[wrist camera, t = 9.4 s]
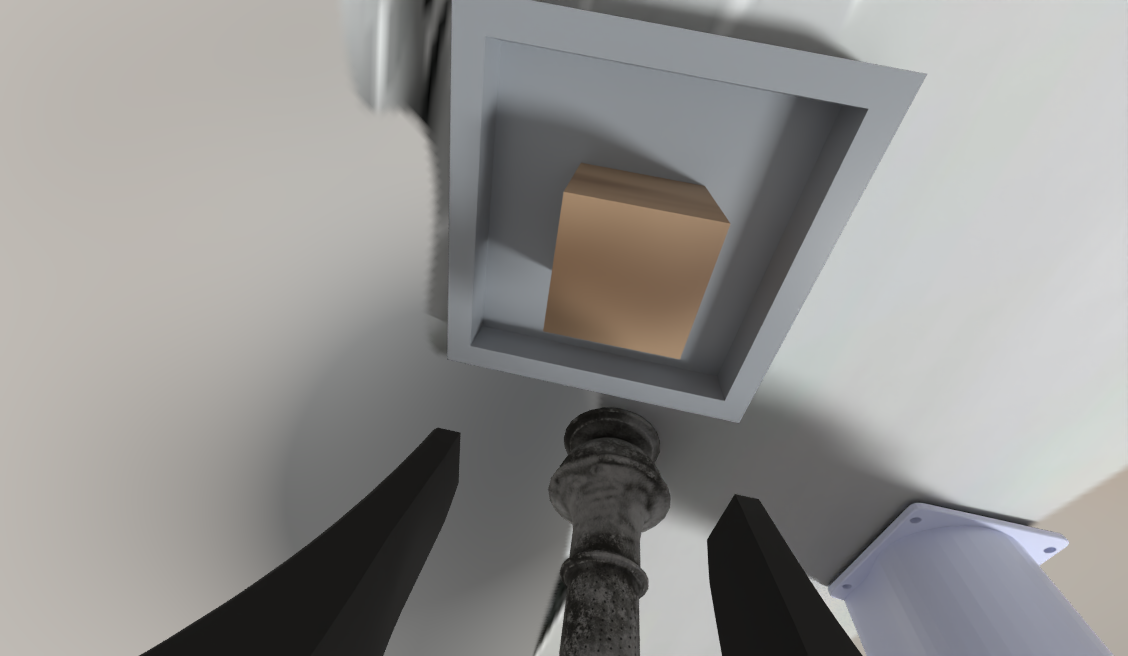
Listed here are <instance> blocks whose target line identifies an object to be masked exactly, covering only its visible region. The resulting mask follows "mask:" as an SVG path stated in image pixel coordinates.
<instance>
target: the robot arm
mask: <svg viewBox="0 0 1128 656" xmlns="http://www.w3.org/2000/svg"><path fill="white" fill-rule="evenodd" d="M459 454H460V433H459V432H455V431H450V430H446V429H441V428H436V429H434V430H433V431H432V432H431V433H430V434H429V435H428V437H427V438H426V439H425V440H424V441H423V442H422V443H421V444H420V445H419V447H417V448H416V449H415V450H414V451H413V452H412V453H411V454H410V455H409V456H408V457H407V458H406V460H404V461H403V462H402V463H401V464H400V465H399V466H398V468H396V469H395V470H394V471H393V472H392V473H391V474H390V475H389V476H388V477H387V478H386V479H385V480H383V481H382V482H381V483H380V484H379V485H378V486H377V487H376V488H375V489H374V490H373V491H372V492H371V493H370V494H368V495H367V496H366V497H365V498H364V499H363V500H361V501H360V502H359V503H358V504H357V505H356V506H354V507H353V508H352V509H351V510H350V511H349V512H347V513H346V514H345V515H344V516H343V517H342V518H341V519H339V520H338V521H337V522H336V523H335V524H333V525H332V526H331V527H330V528H328V529H327V530H326V531H325V532H323V533H322V534H321V535H320V536H318V537H317V538H316V539H314V540H313V541H312V542H311V543H310V544H308V545H307V546H305V547H304V548H303V549H301V550H300V551H299V552H298V553H296V554H295V555H293V556H292V557H291V558H289V559H288V560H287V561H285V562H284V563H283V564H281V565H280V566H278V567H277V568H276V569H274V570H272V571H271V572H270V573H268V574H267V575H265V576H264V577H263V578H261V579H260V580H258V581H257V582H255V583H254V584H253V585H251V586H250V587H248V588H247V589H245V590H244V591H242V592H241V593H239V594H238V595H237V596H235V597H233V598H232V599H230V600H229V601H227V602H226V603H224V604H223V605H221V606H219V607H218V608H216V609H215V610H213V611H211V612H210V613H208V614H207V615H205V616H203V617H202V618H200V619H199V620H197V621H195V622H194V623H192V624H191V625H189V626H187V627H186V628H185V629H183V630H181V631H180V632H178V633H176V634H175V635H173V636H171V637H170V638H169V639H167V640H165V641H163V642H162V643H160V644H158V645H157V646H155V647H153V648H152V649H150V650H148V651H147V652H145V653H143V654H141V655H140V656H383V655H384V652H385V650H386V647H387V645H388V642H389V639H390V637H391V634H392V632H393V629H394V627H395V625H396V623H397V620H398V618H399V616H400V613H401V611H402V609H403V607H404V605H405V603H406V601H407V599H408V597H409V594H410V593H411V590H412V588H413V586H414V584H415V582H416V580H417V578H418V576H419V574H420V572H421V570H422V568H423V565H424V564H425V561H426V559H427V557H428V555H429V553H430V551H431V549H432V547H433V544H434V543H435V541H436V539H437V536H438V534H439V532H440V530H441V528H442V526H443V524H444V522H445V519H446V516H447V513H448V511H449V508H450V505H451V503H452V500H453V497H454V494H455V491H456V488H457V486H458V482H459V456H460V455H459ZM1068 543H1069V541H1068V540H1067V539H1066V538H1065V537H1064V536H1063V535H1062V534H1060V533H1056V532H1052V531H1047V530H1043V529H1038V528H1033V527H1029V526H1025V525H1020V524H1016V523H1011V522H1007V521H1002V520H997V519H993V518H988V517H984V516H979V515H975V514H970V513H966V512H961V511H957V510H952V509H948V508H943V507H939V506H934V505H930V504H925V503H914V504H911V505H910V506H908V507H907V508H906V509H905V510H904V511H903V512H902V513H901V514H900V515H899V516H898V517H897V518H896V519H895V520H894V521H893V522H892V523H891V524H890V525H889V526H888V527H887V528H886V530H885V531H884V532H883V533H882V534H881V535H880V536H879V537H878V538H877V539H876V540H875V541H874V542H873V543H872V544H871V545H870V546H869V547H868V548H867V549H866V550H865V551H864V552H863V553H862V554H861V555H860V556H859V557H858V558H857V559H856V560H855V561H854V562H853V563H852V564H851V565H850V566H849V567H848V568H847V569H846V570H845V571H844V572H843V573H842V574H841V575H840V576H839V577H838V578H837V579H836V580H835V581H834V582H833V583H832V584H831V585H830V586H829V587H828V591H829V594H830V596H832V597H834V598H837V599H841V600H844V601H845V603H846V606H847V608H848V611H849V613H850V616H851V618H852V621H853V623H854V625H855V628H856V630H857V633H858V635H859V638H860V640H861V643H862V645H863V648H864V650H865V652H866V655H867V656H1114V655H1113V654H1112V652H1111V651H1110V650H1109V649H1108V648H1107V646H1106V645H1105V644H1104V643H1103V642H1102V640H1101V639H1100V638H1099V637H1098V636H1097V634H1095V632H1094V631H1093V630H1092V629H1091V627H1090V626H1089V625H1088V624H1087V622H1086V621H1085V620H1084V619H1083V618H1082V616H1081V615H1080V614H1079V613H1078V612H1077V610H1076V609H1075V608H1074V607H1073V606H1072V605H1071V603H1070V602H1069V601H1068V600H1067V599H1066V597H1065V596H1064V595H1063V594H1062V593H1061V591H1060V590H1059V589H1058V588H1057V587H1056V586H1055V584H1054V583H1053V582H1052V581H1051V579H1050V578H1049V577H1048V576H1047V575H1046V573H1045V572H1044V571H1043V570H1042V569H1041V567H1039V565H1041V564H1042V563H1044V562H1045V561H1046V560H1048V559H1049V558H1050V557H1052V556H1054V555H1055V554H1057V553H1058V552H1059V551H1061V550H1062V549H1064V548H1065V547H1067V546H1068ZM707 546H708V566H709V580H710V588H711V594H712V600H713V606H714V612H715V618H716V624H717V629H718V635H719V641H720V646H721V652H722V656H862V654H861V653H860V652H859V650H858V649H857V647H856V646H855V645H854V643H853V642H852V641H851V639H850V638H849V636H848V635H847V634H846V632H845V631H844V629H843V628H842V627H841V625H840V624H839V622H838V621H837V620H836V618H835V617H834V615H833V614H832V612H831V611H830V609H829V608H828V607H827V605H826V604H825V602H824V601H823V599H822V598H821V596H820V595H819V593H818V592H817V590H816V589H815V587H814V586H813V584H812V583H811V581H810V580H809V578H808V577H807V575H806V573H805V572H804V570H803V569H802V567H801V566H800V564H799V563H798V561H797V559H796V558H795V556H794V555H793V553H792V552H791V550H790V548H789V547H788V545H787V544H786V542H785V540H784V539H783V537H782V536H781V534H780V532H779V531H778V529H777V528H776V526H775V524H774V523H773V521H772V520H771V518H770V516H769V515H768V513H767V512H766V510H765V508H764V507H763V505H762V504H761V502H760V500H759V499H755V498H750V497H746V496H741V495H737V494H735V495H734V496H733V498H732V500H731V501H730V503H729V505H728V506H727V508H726V510H725V511H724V513H723V515H722V516H721V518H720V519H719V521H718V523H717V524H716V526H715V528H714V529H713V531H712V533H711V534H710V536H709V538H708V539H707Z"/></svg>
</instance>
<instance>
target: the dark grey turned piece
mask: <svg viewBox="0 0 1128 656" xmlns="http://www.w3.org/2000/svg"><path fill="white" fill-rule="evenodd" d="M564 444H565V449H566V451H567V453H568V456H567V457H566V459H565V460H564V461H563V463H562V464H561V465H560V468H558V469H557V471H556V472H555V473H554V475H553V477H552V478H551V481H550V485H549V489H548V490H549V497H550V501H551V503H552V505H553V506H554V508H555V510H556V511H557V512H558V513H559V514H560V515H561V516H562V517H563V518H564V519H565V520H566V521H568V522H569V523H571V524H572V525H573V534H572V542H571V549H570V557H569V558H568V559H567V560H566V561H565V562H564V563H563V564H562V566H561V570H560V576H561V580H562V581H563V583H564V585H565V586H566V587H567V596H566V604H565V612H564V620H563V628H562V636H561V644H560V652H559V656H640V636H639V599H640V598H641V597H642V596H643V595H645V593H646V592H647V590H648V578H647V575H646V573H645V572H644V571H643V570H642V569H641V568H640V537H641V532H645V531H647V530H649V529H651V528H653V527H654V526H656V525H657V524H658V523H659V522H660V521H661V520H662V519H664V518H665V516H666V514H667V512H668V510H669V508H670V493H669V490H668V487H667V485H666V483H665V482H664V481H663V480H662V478H661V476H660V473H659V471H658V469H657V467H656V466H655V464H654V462H655V461H656V458H657V456H658V454H659V448H660V441H659V438H658V435H657V432H656V431H655V430H654V428H653V427H652V425H651V424H650V423H649V422H647V421H646V420H645V419H643V418H642V417H641V416H639V415H637V414H634V413H632V412H630V411H626V410H622V409H618V408H600V409H594V410H590V411H588V412H585V413H583V414H580V415H579V416H578V417H576V418H575V419H574V420H572V421H571V423H570V424H569V426H568V427H567V429H566V433H565V436H564Z"/></svg>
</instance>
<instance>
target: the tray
mask: <svg viewBox="0 0 1128 656" xmlns="http://www.w3.org/2000/svg"><path fill="white" fill-rule="evenodd" d="M926 75H927V74H925V73H919V72H914V71H909V70H903V69H898V68H893V67H887V66H882V65H876V64H871V63H866V62H860V61H855V60H850V59H844V58H839V57H833V56H828V55H823V54H817V53H812V52H807V51H801V50H796V49H790V48H785V47H780V46H774V45H769V44H764V43H758V42H753V41H748V40H742V39H737V38H731V37H726V36H721V35H715V34H710V33H705V32H699V31H694V30H688V29H683V28H678V27H672V26H667V25H662V24H656V23H651V22H646V21H640V20H635V19H629V18H624V17H619V16H613V15H608V14H603V13H597V12H592V11H586V10H581V9H576V8H570V7H565V6H560V5H554V4H549V3H544V2H538V1H533V0H452V29H451V108H450V187H449V266H448V345H447V359H448V360H451V361H456V362H460V363H465V364H470V365H474V366H479V367H484V368H488V369H493V370H497V371H502V372H507V373H511V374H516V375H520V376H525V377H529V378H534V379H539V380H543V381H548V382H553V383H557V384H562V385H566V386H571V387H575V388H580V389H585V390H589V391H594V392H598V393H603V394H607V395H612V396H617V397H621V398H626V399H630V400H635V401H640V402H644V403H649V404H653V405H658V406H663V407H667V408H672V409H676V410H681V411H686V412H690V413H695V414H699V415H704V416H709V417H713V418H718V419H722V420H727V421H732V422H736V423H740V421H741V419H742V417H743V415H744V413H745V411H746V410H747V408H748V406H749V404H750V402H751V400H752V398H753V397H754V395H755V393H756V391H757V389H758V387H759V385H760V384H761V382H762V380H763V378H764V376H765V374H766V372H767V371H768V369H769V367H770V365H771V363H772V361H773V359H774V358H775V356H776V354H777V352H778V350H779V348H780V346H781V345H782V343H783V341H784V339H785V337H786V335H787V333H788V332H789V330H790V328H791V326H792V324H793V322H794V320H795V319H796V317H797V315H798V313H799V311H800V309H801V307H802V306H803V304H804V302H805V300H806V298H807V296H808V294H809V293H810V291H811V289H812V287H813V285H814V283H815V281H816V280H817V278H818V276H819V274H820V272H821V270H822V268H823V267H824V265H825V263H826V261H827V259H828V257H829V255H830V254H831V252H832V250H833V248H834V246H835V244H836V242H837V241H838V239H839V237H840V235H841V233H842V231H843V229H844V228H845V226H846V224H847V222H848V220H849V218H850V216H851V215H852V213H853V211H854V209H855V207H856V205H857V203H858V202H859V200H860V198H861V196H862V194H863V192H864V191H865V189H866V187H867V185H868V183H869V181H870V179H871V178H872V176H873V174H874V172H875V170H876V168H877V166H878V165H879V163H880V161H881V159H882V157H883V155H884V153H885V152H886V150H887V148H888V146H889V144H890V142H891V140H892V139H893V137H894V135H895V133H896V131H897V129H898V127H899V126H900V124H901V122H902V120H903V118H904V116H905V114H906V113H907V111H908V109H909V107H910V105H911V103H912V101H913V100H914V98H915V96H916V94H917V92H918V90H919V88H920V87H921V85H922V83H923V81H924V79H925V77H926ZM580 163H586V164H591V165H596V166H602V167H607V168H612V169H617V170H623V171H628V172H633V173H639V174H644V175H649V176H655V177H660V178H665V179H671V180H676V181H681V182H686V183H692V184H697V185H702V186H705V187H706V188H707V190H708V191H709V193H710V194H711V196H712V197H713V199H714V200H715V201H716V203H717V204H718V206H719V207H720V209H721V210H722V212H723V213H724V215H725V216H726V218H727V219H728V221H729V222H730V223H731V224H730V227H729V229H728V232H727V235H726V238H725V240H724V243H723V246H722V248H721V251H720V254H719V256H718V259H717V262H716V264H715V267H714V270H713V272H712V275H711V278H710V280H709V283H708V286H707V288H706V291H705V294H704V296H703V299H702V302H701V304H700V307H699V310H698V312H697V315H696V318H695V320H694V323H693V326H692V328H691V331H690V334H689V336H688V339H687V342H686V344H685V347H684V350H683V352H682V355H681V358H680V359H676V358H671V357H666V356H661V355H656V354H651V353H646V352H641V351H637V350H632V349H627V348H622V347H617V346H612V345H607V344H602V343H598V342H593V341H588V340H583V339H578V338H573V337H568V336H564V335H559V334H554V333H549V332H544V331H543V328H544V321H545V314H546V308H547V301H548V294H549V287H550V281H551V274H552V267H553V260H554V254H555V247H556V240H557V233H558V227H559V220H560V213H561V206H562V200H563V193H564V190H565V189H566V187H567V185H568V184H569V182H570V180H571V179H572V177H573V175H574V174H575V172H576V170H577V169H578V167H579V165H580Z"/></svg>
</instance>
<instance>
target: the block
mask: <svg viewBox="0 0 1128 656" xmlns="http://www.w3.org/2000/svg"><path fill="white" fill-rule="evenodd" d="M730 224H731V223H730V222H729V221H728V219H727V218H726V216H725V215H724V213H723V212H722V210H721V209H720V207H719V206H718V204H717V203H716V201H715V200H714V199H713V197H712V196H711V194H710V193H709V191H708V190H707V188H706V187H705V186H702V185H697V184H692V183H686V182H681V181H676V180H671V179H665V178H660V177H655V176H649V175H644V174H639V173H633V172H628V171H623V170H617V169H612V168H607V167H602V166H596V165H591V164H586V163H580V165H579V167H578V169H577V170H576V172H575V174H574V175H573V177H572V179H571V180H570V182H569V184H568V185H567V187H566V189H565V190H564V193H563V200H562V206H561V213H560V220H559V227H558V233H557V240H556V247H555V254H554V260H553V267H552V274H551V281H550V287H549V294H548V301H547V308H546V314H545V321H544V328H543V331H544V332H549V333H554V334H559V335H564V336H568V337H573V338H578V339H583V340H588V341H593V342H598V343H602V344H607V345H612V346H617V347H622V348H627V349H632V350H637V351H641V352H646V353H651V354H656V355H661V356H666V357H671V358H676V359H680V358H681V355H682V352H683V350H684V347H685V344H686V342H687V339H688V336H689V334H690V331H691V328H692V326H693V323H694V320H695V318H696V315H697V312H698V310H699V307H700V304H701V302H702V299H703V296H704V294H705V291H706V288H707V286H708V283H709V280H710V278H711V275H712V272H713V270H714V267H715V264H716V262H717V259H718V256H719V254H720V251H721V248H722V246H723V243H724V240H725V238H726V235H727V232H728V229H729V227H730Z"/></svg>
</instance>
